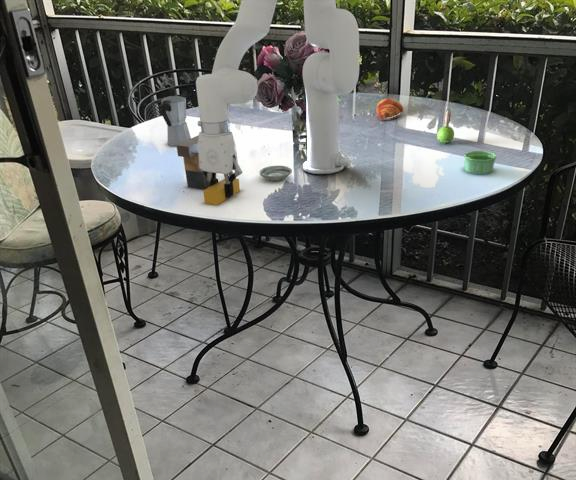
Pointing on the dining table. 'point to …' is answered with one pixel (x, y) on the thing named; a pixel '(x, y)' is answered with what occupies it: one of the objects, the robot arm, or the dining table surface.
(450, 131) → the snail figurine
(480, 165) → the ramekin
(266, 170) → the saucer
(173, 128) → the coffee maker
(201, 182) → the tower
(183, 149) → the lower bar
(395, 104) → the croissant
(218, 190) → the top bar
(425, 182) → the dining table surface
